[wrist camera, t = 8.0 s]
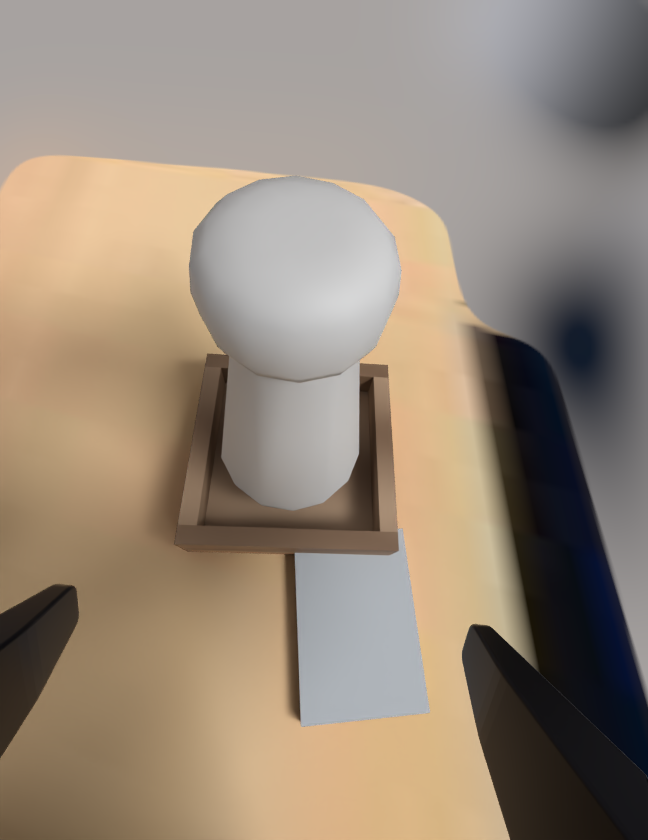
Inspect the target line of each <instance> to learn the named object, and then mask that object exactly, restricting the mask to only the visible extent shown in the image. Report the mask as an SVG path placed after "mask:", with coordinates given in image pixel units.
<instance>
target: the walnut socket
mask: <svg viewBox="0 0 648 840" xmlns="http://www.w3.org/2000/svg"><path fill="white" fill-rule="evenodd" d="M228 366H229V356H228V355H219V354H207V358H206V364H205V370H204V376H203V381H202V387H201V393H200V399H199V404H198V410H197V416H196V422H195V427H194V433H193V439H192V445H191V450H190V456H189V462H188V468H187V473H186V479H185V485H184V491H183V496H182V502H181V508H180V514H179V519H178V525H177V531H176V537H175V542H174V544H175V545H177V546H179V547H180V548H182V549H184V550H186V551H196V552H231V553H265V554H295V553H320V554H354V555H388V556H389V555H391V554H393V553H396V552H398V551H399V543H398V526H397V510H396V493H395V477H394V460H393V444H392V427H391V411H390V394H389V378H388V365H377V364H362V363H360V374H359V455H358V457H357V460H356V462H355V465H354V467H353V470H352V472H351V475H350V477H349V480H348V481H347V482H346V483H345V484H344V485H343V486H342V487H341V488H340V489H338V490H337V491H336V492H335V493H334V494H333V495H332V496H331V497H329V498H328V499H327V500H326V501H325V502H324V503H321V504H318V505H314V506H310V507H306V508H303V509H299V510H295V511H290V510H285V509H279V508H273V507H267V506H262V505H260V504H259V503H258V502H256V501H255V500H254V499H253V498H251V497H250V496H249V495H247V494H246V493H245V492H244V491H242V490H241V489H240V488H238V487H237V486H236V485H235V484H234V482H233V480H232V478H231V476H230V474H229V472H228V470H227V468H226V466H225V464H224V462H223V460H222V458H221V455H222V442H223V429H224V417H225V404H226V391H227V379H228Z"/></svg>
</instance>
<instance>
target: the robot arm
mask: <svg viewBox="0 0 648 840" xmlns="http://www.w3.org/2000/svg"><path fill="white" fill-rule="evenodd" d="M78 618H79V609H78V599H77V591H76V588H75V587H74V586H72V585H64V584H55V585H52V586H50V587H48V588H46V589H45V590H43V591H41V592H39V593H37V594H36V595H34V596H32V597H30V598H28V599H27V600H25V601H23V602H21V603H19V604H18V605H16V606H14V607H12V608H10V609H9V610H7V611H5V612H3V613H1V614H0V758H1V756H2V755H3V753H4V752H5V750H6V748H7V747H8V745H9V744H10V742H11V741H12V739H13V737H14V736H15V734H16V733H17V731H18V730H19V728H20V726H21V725H22V723H23V722H24V720H25V719H26V717H27V715H28V714H29V712H30V711H31V709H32V707H33V706H34V704H35V702H36V701H37V699H38V697H39V696H40V694H41V692H42V690H43V688H44V686H45V685H46V683H47V681H48V679H49V677H50V675H51V673H52V671H53V669H54V667H55V665H56V663H57V661H58V659H59V658H60V656H61V654H62V652H63V650H64V648H65V646H66V644H67V642H68V640H69V638H70V636H71V634H72V632H73V630H74V629H75V627H76V624H77V622H78ZM462 661H463V666H464V671H465V676H466V681H467V685H468V690H469V695H470V699H471V704H472V709H473V714H474V718H475V723H476V727H477V731H478V736H479V739H480V743H481V746H482V750H483V753H484V756H485V760H486V763H487V766H488V769H489V772H490V776H491V779H492V782H493V785H494V789H495V792H496V795H497V798H498V801H499V805H500V808H501V811H502V814H503V818H504V821H505V824H506V827H507V831H508V834H509V837H510V840H648V779H647V777H646V775H645V774H644V773H643V772H642V771H641V770H640V769H639V768H638V767H637V766H636V765H635V764H634V763H633V762H632V761H631V760H630V759H629V758H628V757H627V756H626V755H625V754H624V753H623V752H621V751H620V750H619V749H618V748H617V747H616V746H615V745H614V744H613V743H612V742H611V741H610V740H609V739H608V738H607V737H606V736H605V735H604V734H603V733H602V732H601V731H599V730H598V729H597V728H596V727H595V726H594V725H593V724H592V723H591V722H590V721H589V720H588V719H587V718H586V717H585V716H584V715H583V714H582V713H581V712H580V711H579V710H577V709H576V708H575V707H574V706H573V705H572V704H571V703H570V702H569V701H568V700H567V699H566V698H565V697H564V696H563V695H562V694H561V693H560V692H559V691H558V690H557V689H555V688H554V687H553V686H552V685H551V684H550V683H549V682H548V681H547V680H546V679H545V678H544V677H543V676H542V675H541V674H540V673H539V672H538V671H537V670H536V669H535V668H533V667H532V666H531V665H530V664H529V663H528V662H527V661H526V660H525V659H524V658H523V657H522V656H521V655H520V654H519V653H518V652H517V651H516V650H515V649H514V648H513V647H511V646H510V645H509V644H508V643H507V642H506V641H505V640H504V639H503V638H502V637H501V636H500V635H499V634H498V633H497V632H496V631H495V630H494V629H493V628H491V627H490V626H487V625H478V624H473V625H471V626H470V628H469V630H468V634H467V637H466V640H465V643H464V647H463V650H462Z"/></svg>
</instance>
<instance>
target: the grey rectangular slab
mask: <svg viewBox="0 0 648 840" xmlns="http://www.w3.org/2000/svg"><path fill="white" fill-rule="evenodd" d="M398 543H399V551H398V552H396V553H393V554H391V555H389V556H388V555H354V554H320V553H295V580H296V608H297V636H298V664H299V692H300V720H301V727H305V726H314V725H323V724H332V723H341V722H350V721H360V720H369V719H378V718H387V717H396V716H405V715H414V714H424V713H430V710H429V703H428V696H427V690H426V683H425V676H424V670H423V663H422V656H421V649H420V643H419V636H418V629H417V623H416V616H415V609H414V603H413V596H412V589H411V582H410V576H409V569H408V562H407V556H406V549H405V542H404V536H403V529H398Z"/></svg>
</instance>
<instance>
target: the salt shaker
mask: <svg viewBox="0 0 648 840" xmlns="http://www.w3.org/2000/svg"><path fill="white" fill-rule="evenodd" d="M189 274H190V290H191V294H192V297H193V299H194V302H195V304H196V306H197V309H198V311H199V314H200V315H201V317H202V319H203V321H204V323H205V325H206V326H207V328H208V330H209V332H210V334H211V336H212V337H213V339H214V341H215V343H216V345H217V347H219V348H220V349H221V350H222V351H223V352H224V353H225V354H227V355H228V356H229V366H228V379H227V391H226V404H225V417H224V429H223V442H222V455H221V458H222V460H223V462H224V464H225V466H226V468H227V470H228V472H229V474H230V476H231V478H232V480H233V482H234V484H235V485H236V486H237V487H238V488H240V489H241V490H242V491H244V492H245V493H246V494H247V495H249V496H250V497H251V498H253V499H254V500H255V501H256V502H258V503H259V504H260V505H262V506H267V507H273V508H279V509H285V510H290V511H295V510H299V509H303V508H306V507H310V506H314V505H318V504H321V503H324V502H325V501H326V500H327V499H328V498H329V497H331V496H332V495H333V494H334V493H335V492H336V491H337V490H338V489H340V488H341V487H342V486H343V485H344V484H345V483H346V482H347V481H348V480H349V477H350V475H351V472H352V470H353V467H354V465H355V462H356V460H357V457H358V455H359V374H360V359H362V358H363V357H364V356H366V355H367V354H368V353H369V352H370V351H372V350H373V349H374V348H375V347H376V345H377V343H378V341H379V339H380V336H381V334H382V332H383V330H384V328H385V325H386V323H387V321H388V319H389V316H390V314H391V312H392V309H393V307H394V305H395V302H396V300H397V298H398V295H399V288H400V279H401V266H400V261H399V256H398V251H397V246H396V241H395V237H394V236H393V234H392V233H391V232H390V231H389V229H388V228H387V227H386V226H385V225H384V223H383V222H382V221H381V220H380V218H379V217H378V216H377V215H376V213H375V212H374V211H373V210H372V209H371V207H370V206H369V205H368V204H367V203H366V201H365V200H364V199H362V198H360V197H358V196H356V195H355V194H353V193H351V192H349V191H347V190H345V189H343V188H341V187H339V186H337V185H336V184H334V183H330V182H325V181H320V180H315V179H310V178H305V177H300V176H289V177H280V178H271V179H262V180H258V181H256V182H253V183H251V184H249V185H247V186H245V187H242V188H240V189H238V190H236V191H234V192H231V193H229V194H227V195H226V196H225V197H223V198H222V199H221V200H220V201H218V202H217V203H216V204H215V205H214V207H213V208H212V209H211V210H210V211H209V213H208V214H207V215H206V216H205V218H204V219H203V220H202V221H201V223H200V224H199V225H198V226H197V228H196V229H195V230H194V232H193V239H192V247H191V255H190V263H189Z"/></svg>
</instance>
